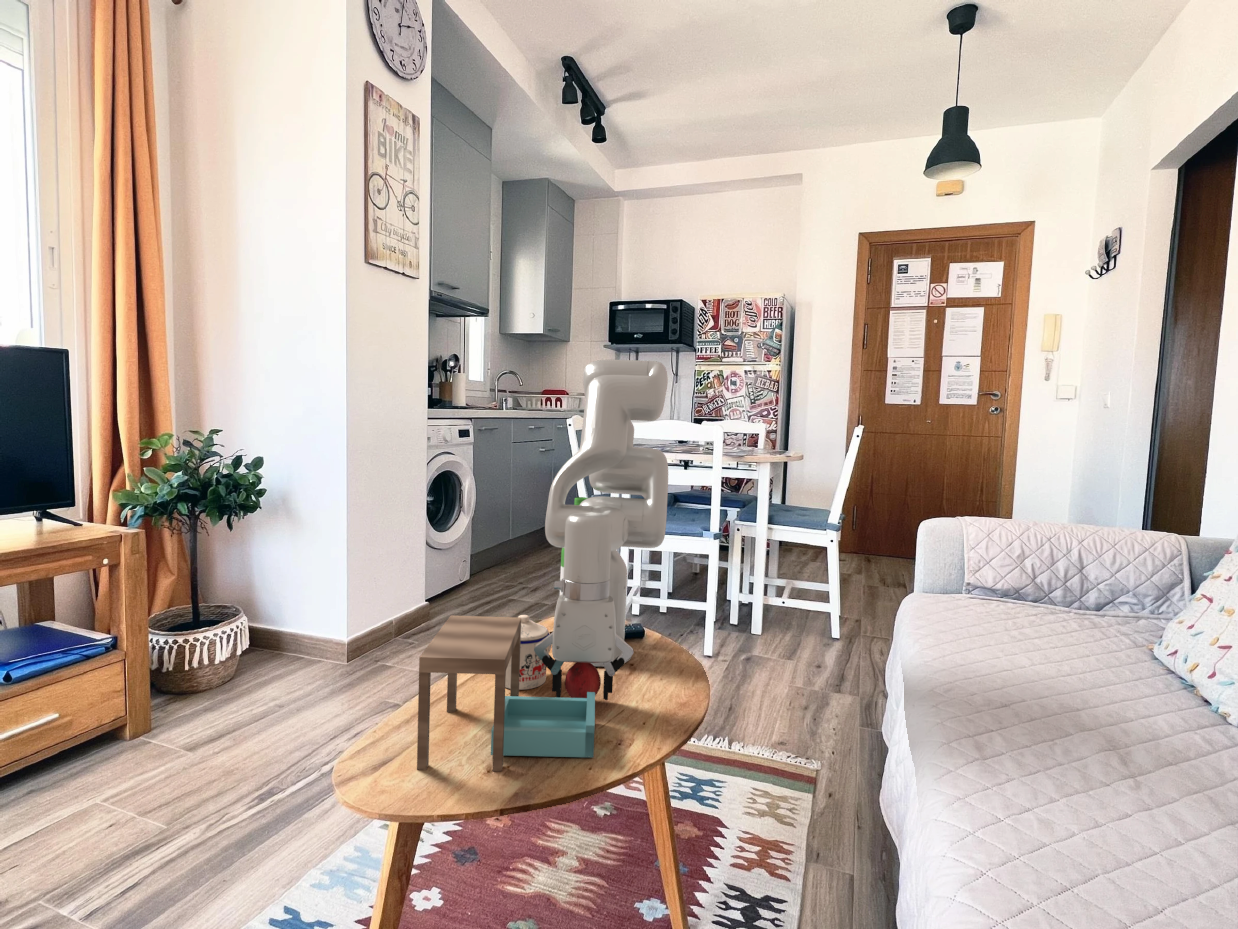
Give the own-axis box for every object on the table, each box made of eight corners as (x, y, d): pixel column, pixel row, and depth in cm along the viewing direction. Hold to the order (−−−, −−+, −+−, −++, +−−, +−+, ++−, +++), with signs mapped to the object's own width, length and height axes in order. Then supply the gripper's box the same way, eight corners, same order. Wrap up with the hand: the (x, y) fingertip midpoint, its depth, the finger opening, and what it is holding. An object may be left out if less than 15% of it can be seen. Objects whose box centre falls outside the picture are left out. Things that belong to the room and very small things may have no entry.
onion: (582, 715, 102) (584, 665, 102) (556, 703, 106) (558, 656, 105) (606, 704, 107) (608, 656, 106) (581, 693, 110) (583, 647, 110)
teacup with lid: (522, 696, 108) (524, 627, 108) (484, 681, 114) (486, 616, 113) (568, 674, 118) (570, 612, 118) (531, 662, 123) (533, 602, 123)
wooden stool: (448, 708, 103) (450, 615, 102) (518, 710, 103) (521, 617, 102) (416, 769, 85) (419, 657, 84) (501, 771, 85) (505, 659, 84)
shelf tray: (502, 718, 99) (503, 689, 99) (593, 720, 100) (594, 692, 100) (490, 755, 88) (491, 723, 88) (593, 757, 89) (594, 725, 89)
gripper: (529, 593, 101) (526, 704, 102) (641, 597, 102) (636, 707, 103) (534, 581, 109) (531, 685, 110) (638, 585, 109) (633, 688, 110)
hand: (582, 695), depth 106 cm, fingers open, 7 cm apart
